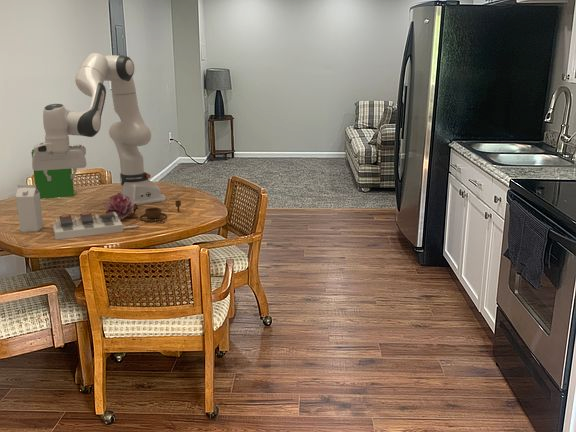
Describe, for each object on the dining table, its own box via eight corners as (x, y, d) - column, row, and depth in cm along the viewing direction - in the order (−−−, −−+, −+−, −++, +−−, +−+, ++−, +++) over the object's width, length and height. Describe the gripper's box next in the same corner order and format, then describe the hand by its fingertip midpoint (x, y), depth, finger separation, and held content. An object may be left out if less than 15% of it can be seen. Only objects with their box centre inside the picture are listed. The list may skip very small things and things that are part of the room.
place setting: (137, 216, 258) (136, 203, 257) (180, 212, 266) (180, 199, 264) (142, 226, 243) (141, 213, 241) (188, 221, 250) (188, 209, 248)
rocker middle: (91, 216, 239) (90, 212, 238) (93, 223, 233) (93, 219, 232) (80, 217, 237) (79, 213, 236) (82, 225, 231) (82, 220, 230)
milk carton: (26, 227, 239) (20, 183, 234) (43, 226, 240) (38, 183, 234) (20, 232, 232) (14, 187, 227) (37, 231, 233) (32, 186, 228)
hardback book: (36, 199, 285) (31, 151, 279) (37, 195, 292) (32, 149, 285) (74, 196, 291) (69, 150, 285) (74, 193, 298) (69, 147, 291)
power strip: (133, 221, 248) (132, 209, 246) (139, 229, 236) (138, 216, 235) (53, 230, 234) (52, 217, 233) (55, 239, 223) (54, 226, 221)
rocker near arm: (111, 217, 242) (110, 213, 242) (113, 218, 236) (113, 213, 235) (100, 219, 240) (100, 214, 240) (102, 219, 234) (102, 215, 234)
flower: (103, 207, 259) (104, 188, 254) (136, 209, 263) (138, 191, 259) (101, 225, 247) (103, 205, 242) (136, 227, 251) (138, 208, 246)
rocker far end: (71, 218, 235) (70, 214, 234) (73, 226, 230) (72, 221, 229) (59, 219, 233) (59, 215, 233) (61, 227, 228) (61, 223, 227)
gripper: (84, 143, 232) (87, 176, 236) (29, 146, 224) (33, 180, 227) (86, 145, 227) (89, 179, 230) (30, 148, 218) (34, 183, 222)
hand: (61, 179), depth 229 cm, fingers open, 7 cm apart
